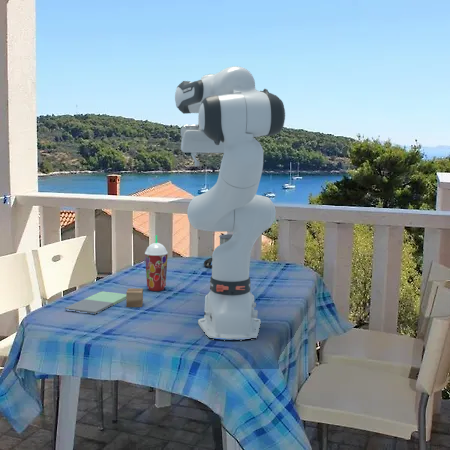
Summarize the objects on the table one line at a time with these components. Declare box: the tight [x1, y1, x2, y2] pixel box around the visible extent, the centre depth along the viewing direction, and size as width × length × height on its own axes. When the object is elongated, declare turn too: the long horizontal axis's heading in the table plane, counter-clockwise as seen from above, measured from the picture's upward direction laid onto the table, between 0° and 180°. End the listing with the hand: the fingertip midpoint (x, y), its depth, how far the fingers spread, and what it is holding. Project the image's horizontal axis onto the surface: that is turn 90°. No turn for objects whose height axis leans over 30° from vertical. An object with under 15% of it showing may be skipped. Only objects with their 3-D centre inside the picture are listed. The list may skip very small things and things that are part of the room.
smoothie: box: [144, 234, 169, 292], centre depth 209 cm, size 8×8×20 cm
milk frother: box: [203, 233, 233, 269], centre depth 245 cm, size 14×16×15 cm
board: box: [64, 291, 126, 315], centre depth 190 cm, size 22×11×1 cm, turn 161°
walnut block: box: [125, 287, 144, 308], centre depth 190 cm, size 5×5×5 cm
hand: (210, 166), depth 194 cm, fingers open, 8 cm apart
